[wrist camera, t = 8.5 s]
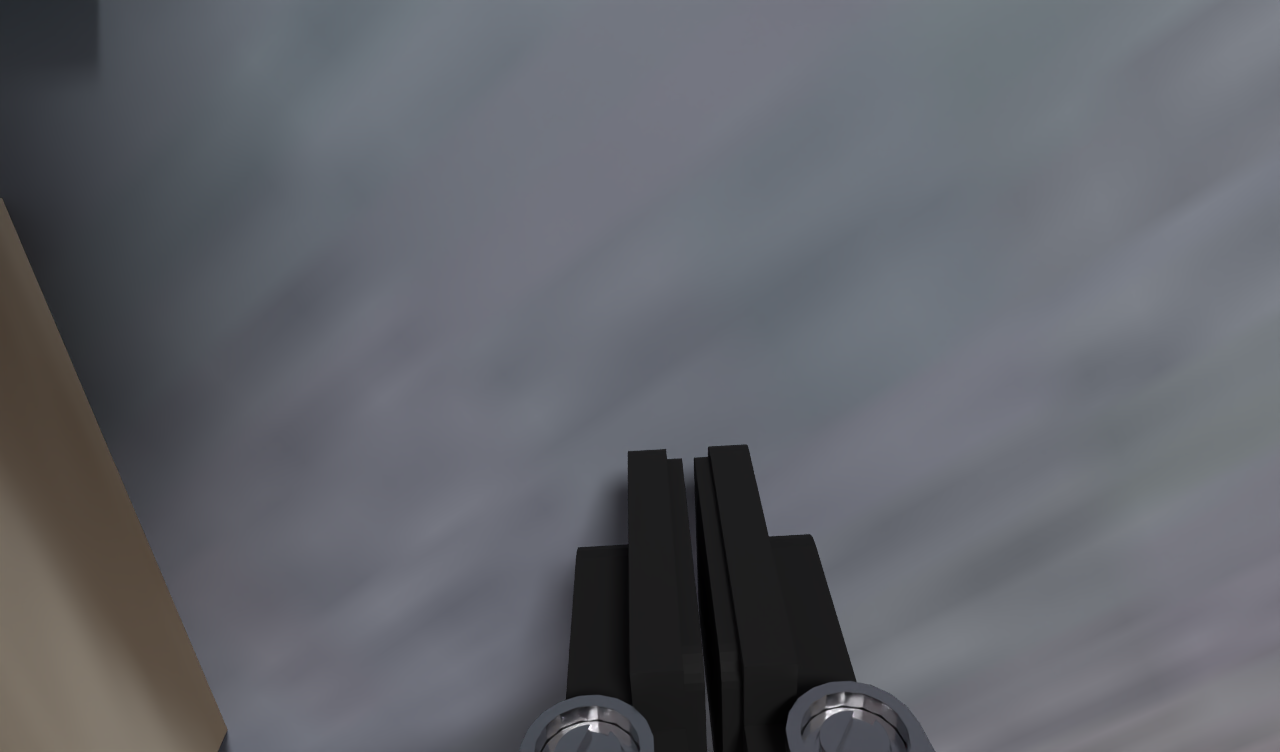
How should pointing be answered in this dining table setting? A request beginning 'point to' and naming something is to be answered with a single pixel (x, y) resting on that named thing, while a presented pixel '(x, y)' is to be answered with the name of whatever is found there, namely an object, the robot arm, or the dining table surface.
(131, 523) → the t block
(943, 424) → the dining table surface
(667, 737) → the robot arm
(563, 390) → the dining table surface
